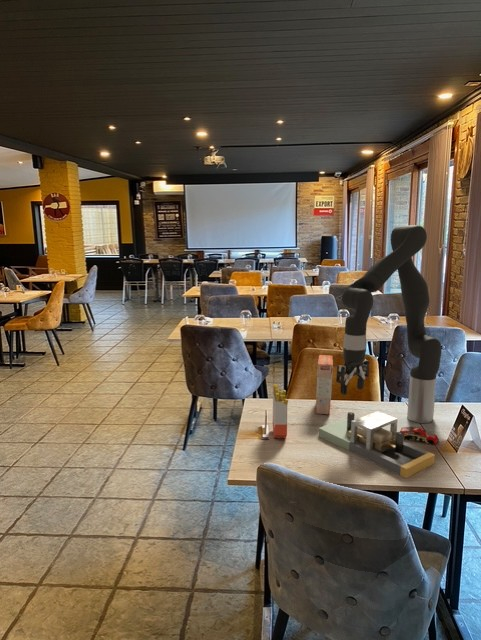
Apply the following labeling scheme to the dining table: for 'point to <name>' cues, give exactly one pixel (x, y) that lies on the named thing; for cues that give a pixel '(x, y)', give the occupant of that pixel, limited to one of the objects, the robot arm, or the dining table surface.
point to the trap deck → (388, 458)
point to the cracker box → (324, 384)
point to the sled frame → (393, 443)
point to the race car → (419, 435)
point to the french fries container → (279, 413)
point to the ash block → (377, 434)
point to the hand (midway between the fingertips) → (352, 391)
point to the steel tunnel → (372, 426)
